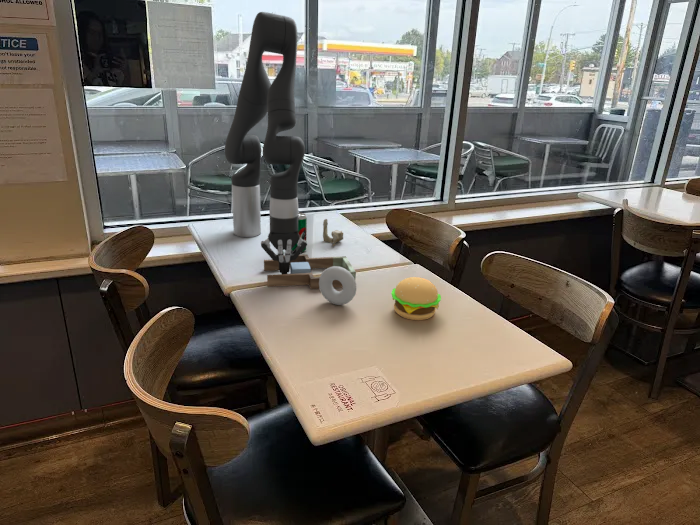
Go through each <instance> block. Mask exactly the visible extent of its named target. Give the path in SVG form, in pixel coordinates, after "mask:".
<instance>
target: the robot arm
mask: <svg viewBox="0 0 700 525" xmlns="http://www.w3.org/2000/svg"><path fill="white" fill-rule="evenodd" d="M265 52H266V53H271V54H272V53H273V54H278V55H282V65H281V66H280V70H279V72H278V73H277V75H276V77H275V78H274V80H273V81H272V83H271V80H270V78H269V76H268V74H267V72H266V69H265V66H264V63H263V54H264V53H265ZM297 52H298V28H297V23H296V21H295V19H294V18H292V17H290V16H286V15H282V14H277V13H272V12H266V11H259V12H257V14H256V15H255V17H254V20H253V24H252V29H251V35H250V42H249V48H248V53H247V60H246V61H247V62H246V65H245V69H244V74H243V78H242V81H241V85H240V88H239V92H238V97H237V102H236V108H235V111H234V116H233V119H232V122H231V125H230V128H229V130H228V134H227V137H226V140H225V145H224V156H225V160H226V161H227V162H228V163H230V164H231V165H245V167H244V168H243V169H242V170H240V171H238V172H236V173H234V174H233V175H232V176H231V198H232V221H233V222H232V223H233V224H232V225H233V234H234V235H235V236H237V237H241V238H252V237H257V236H259V235H261V233H262V228H261V225H262V224H261V222H262V221H261V220H262V219H261V217H262V216H261V214H262V213H261V174H262V173H261V172H262V171H261V170H262V168H261V166H262V164H261V163H262V157H263V160H264V161H265V162H266V163H267V164H269V165H274V166H275V165H282V166H283V165H289V167H288V168H287V169H286V170H284V171H281V172H275V173H274V174H272V175H271V176H270V180H269V181H270V182H269V184H270V186H269V187H270V196H269V197H270V199H269V233H268V235H267V238H266V239H265V240H262V241H260V247H261V248H262V250H264V252H265V253H266V254H267V255H268V256H269V258H271V260H274V261H278V262H279V270H278V271H279V274H289V272H290V261H291V260H295V259H296V258H297V257H298V256H299V255H301V254H302V253H303V252H302V251H303V250H304V249H305V247H306V248H307V247H308V243H307V239H306V240H303V239H301V238H300V235H299V233H298V213H300V212H299V200H298V185H299V183H298V181H299V175H300V171H301V168H302V163H303V161H304V157H305V154H306V145H305V142H304V140H303V139H302V138H301V137H300V136H296V135H294V136H293V135H292V136H291V135H278V134H279V133H281V132H285V131H290V130H291V129H293V128H294V127H295V126H296V123H297V119H296V118H297V117H296V116H297V114H296V104H295V103H296V102H295V100H296V99H295V82H296V72H297V71H296V70H297V69H296V68H297ZM266 115H267V130H266V135H265V138H264V141H263V145H262V144H261V140H260V138H259V136H257V135H256V134H248V133H249V132H250V131H251V130H252V129H253V128H254V127H255V126H257V124H259V123H260V122H261V121H262V120H263V118H265V117H266ZM261 145H262V146H261ZM297 242H298V243H297ZM270 243H271V244H270ZM296 243H297V244H298V246H297V247H296V249H295V250H294V251H291V249H292V248H293V247H294V246H295V244H296ZM271 245H272V246H273V247H274V249H275V250H277V254H276V253H275V252H274V250H273V249H272V248H271ZM301 252H302V253H301ZM283 255H285V256H284V258H285V260H284V259H283Z"/></svg>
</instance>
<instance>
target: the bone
mask: <svg viewBox="0 0 700 525" xmlns="http://www.w3.org/2000/svg"><path fill="white" fill-rule="evenodd" d="M322 222H323V224H322V226H323V227H322V228H323V230H322V238H323V242H325V243H330V242H331V244H332V246H333V247H334V246H335V245H336V243H340V242H341V241H342V240H344V232H343V230H338V229H334V230H332V231H331V234H330V235H331V237H330V236H329V234H328V219H327V218H325V219H324V220H323V221H322ZM333 243H334V244H333Z"/></svg>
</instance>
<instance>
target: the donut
mask: <svg viewBox="0 0 700 525" xmlns="http://www.w3.org/2000/svg"><path fill="white" fill-rule="evenodd" d="M319 277H320V279H319V291H320V293H321V295H322V296H323V298H324V299H325V300H326V301H327V302H329V303H330V304H333V305H336V306H337V305H338V306H343V305H347V304H349V303H350V302H351V301H353V299H354V298H355V296H356V295H357V294H356V293H357V282H356V278H355V279H354V277H353V276H352V274H351V273H350V272H349V271H348V270H346V269H345V268H342V267H339V266H333V267H329V268H325V269H324V270H323V271H322V272H321V275H319ZM333 280H338V281H340V282H341V284H342V286H343V287H342V290H340V291H339V290H337V289H335V288H333V285H332V282H333Z"/></svg>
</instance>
